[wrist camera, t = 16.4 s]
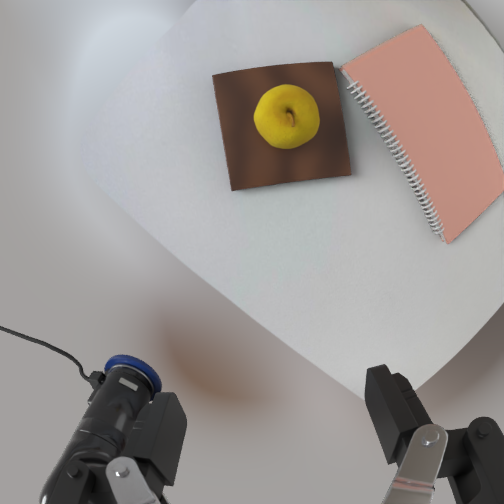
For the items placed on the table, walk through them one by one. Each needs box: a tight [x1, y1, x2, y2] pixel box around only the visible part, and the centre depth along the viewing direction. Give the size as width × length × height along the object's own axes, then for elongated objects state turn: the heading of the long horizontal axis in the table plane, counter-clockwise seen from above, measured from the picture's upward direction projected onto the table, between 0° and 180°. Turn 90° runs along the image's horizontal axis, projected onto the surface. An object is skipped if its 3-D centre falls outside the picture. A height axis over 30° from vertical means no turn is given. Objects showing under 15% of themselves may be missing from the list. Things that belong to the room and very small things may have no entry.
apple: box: [254, 84, 320, 149], centre depth 26 cm, size 6×6×8 cm
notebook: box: [339, 24, 504, 244], centre depth 29 cm, size 27×17×2 cm, turn 38°
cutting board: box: [212, 62, 351, 191], centre depth 30 cm, size 14×14×2 cm
